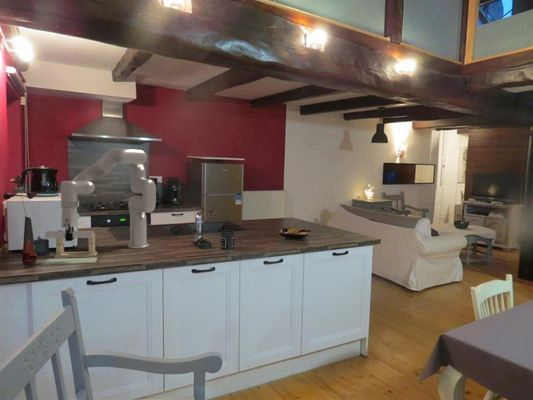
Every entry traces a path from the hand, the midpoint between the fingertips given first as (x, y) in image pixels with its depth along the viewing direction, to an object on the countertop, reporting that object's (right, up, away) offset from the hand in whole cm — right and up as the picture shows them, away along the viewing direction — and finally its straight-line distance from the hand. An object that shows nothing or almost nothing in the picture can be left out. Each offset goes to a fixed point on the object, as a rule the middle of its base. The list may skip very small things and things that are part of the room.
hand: (69, 239), depth 191 cm
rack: (-3, -10, +13) cm, 17 cm away
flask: (-22, -10, +11) cm, 27 cm away
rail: (0, +1, 0) cm, 1 cm away
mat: (0, -12, +2) cm, 12 cm away
